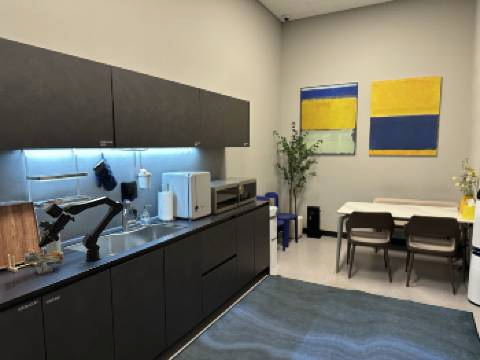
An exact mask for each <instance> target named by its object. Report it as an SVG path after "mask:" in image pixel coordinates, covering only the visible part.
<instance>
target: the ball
mask: <svg viewBox="0 0 480 360" xmlns="http://www.w3.org/2000/svg"><path fill="white" fill-rule="evenodd" d="M58 255H59V254H58V252H57V251H53V252H52V253H51V254H50V256H58Z"/></svg>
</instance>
